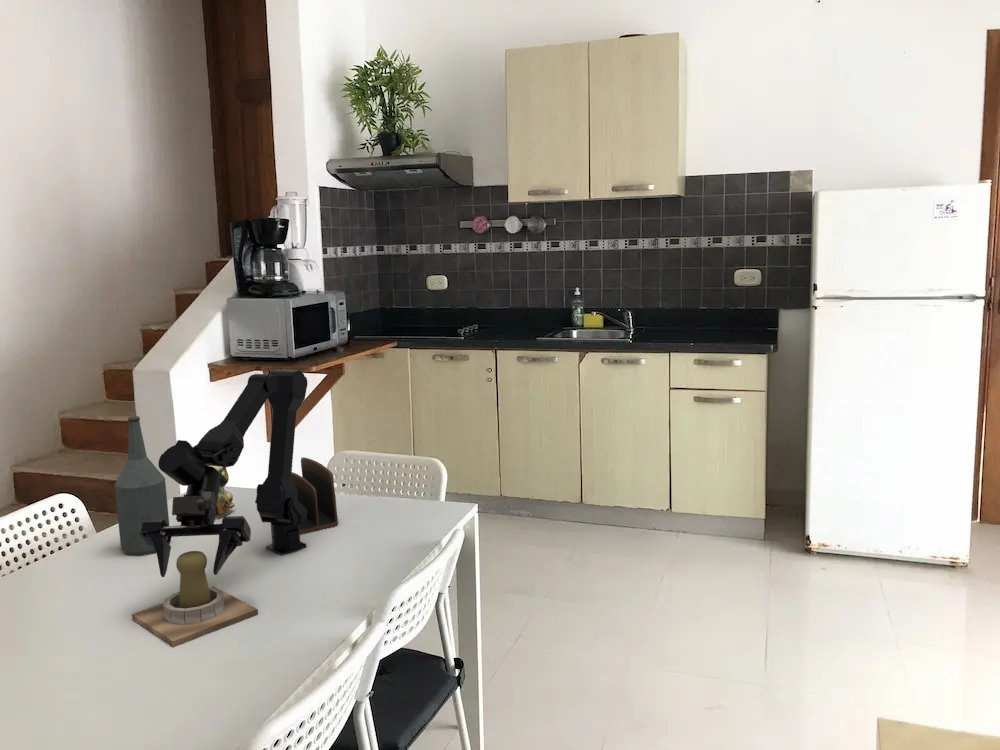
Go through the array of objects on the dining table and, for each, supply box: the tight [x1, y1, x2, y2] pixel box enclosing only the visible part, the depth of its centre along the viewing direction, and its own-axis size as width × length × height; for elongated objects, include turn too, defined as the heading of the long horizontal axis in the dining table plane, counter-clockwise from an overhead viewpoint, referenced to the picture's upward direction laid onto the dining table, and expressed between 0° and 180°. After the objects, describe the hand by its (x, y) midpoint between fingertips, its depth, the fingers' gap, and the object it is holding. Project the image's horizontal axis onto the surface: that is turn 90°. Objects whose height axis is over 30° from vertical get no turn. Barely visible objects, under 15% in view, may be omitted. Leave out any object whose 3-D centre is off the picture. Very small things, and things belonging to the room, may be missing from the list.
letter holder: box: [291, 457, 339, 536], centre depth 202 cm, size 10×20×14 cm, turn 34°
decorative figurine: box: [206, 465, 235, 520], centre depth 208 cm, size 10×8×15 cm
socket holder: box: [131, 585, 259, 647], centre depth 152 cm, size 16×16×4 cm
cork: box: [175, 550, 212, 609], centre depth 151 cm, size 6×6×11 cm
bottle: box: [114, 415, 171, 556], centre depth 185 cm, size 10×10×30 cm
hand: (188, 575), depth 149 cm, fingers open, 9 cm apart
